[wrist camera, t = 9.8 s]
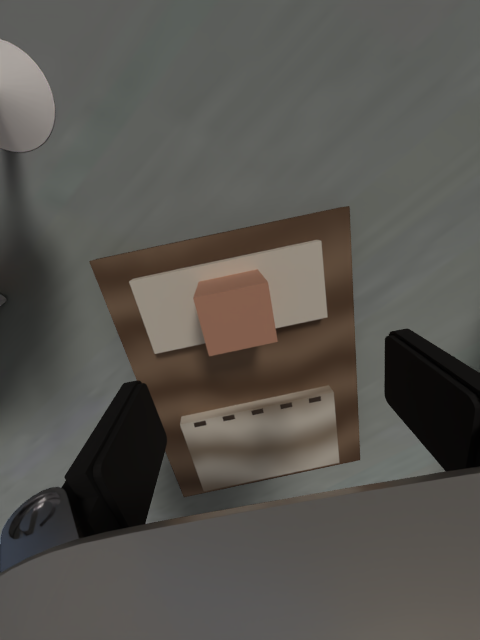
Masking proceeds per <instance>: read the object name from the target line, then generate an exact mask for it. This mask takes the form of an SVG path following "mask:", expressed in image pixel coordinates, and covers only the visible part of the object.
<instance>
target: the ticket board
mask: <svg viewBox="0 0 480 640" xmlns="http://www.w3.org/2000/svg"><path fill="white" fill-rule="evenodd" d="M313 240H320V241H321V243H322V255H323V268H324V280H325V292H326V304H327V318H322V319H318V320H313V321H308V322H303V323H299V324H294V325H289V326H285V327H280V328H276V334H277V340H278V342H275V343H270V344H265V345H260V346H256V347H251V348H246V349H242V350H237V351H232V352H227V353H223V354H218V355H213V356H209V354H208V351H207V347H206V343H204V344H200V345H195V346H190V347H185V348H181V349H176V350H171V351H167V352H162V353H157V354H155V353H154V350H153V348H152V345H151V342H150V339H149V336H148V334H147V331H146V328H145V325H144V322H143V320H142V317H141V314H140V311H139V308H138V306H137V303H136V300H135V297H134V294H133V292H132V289H131V286H130V283H129V281H130V280H132V279H134V278H139V277H144V276H148V275H153V274H158V273H163V272H167V271H172V270H177V269H181V268H186V267H191V266H196V265H200V264H205V263H210V262H214V261H219V260H224V259H229V258H233V257H238V256H243V255H247V254H252V253H257V252H262V251H266V250H271V249H276V248H280V247H285V246H290V245H295V244H299V243H304V242H309V241H313ZM89 262H90V264H91V267H92V269H93V272H94V274H95V277H96V279H97V282H98V284H99V287H100V289H101V292H102V294H103V297H104V299H105V302H106V304H107V307H108V309H109V312H110V314H111V317H112V319H113V322H114V324H115V327H116V329H117V332H118V334H119V337H120V339H121V342H122V344H123V347H124V349H125V352H126V354H127V357H128V359H129V362H130V364H131V367H132V369H133V372H134V374H135V376H136V379H137V381H138V380H139V381H141V382H142V383H145V384H146V385H147V387H148V389H149V392H150V394H151V397H152V399H153V402H154V404H155V407H156V410H157V412H158V415H159V417H160V420H161V422H162V425H163V427H164V430H165V432H166V435H167V445H166V449H165V451H166V454H167V456H168V459H169V461H170V464H171V466H172V469H173V471H174V474H175V476H176V479H177V481H178V484H179V486H180V489H181V491H182V494H183V496H184V497H187V496H192V495H197V494H202V493H206V492H211V491H216V490H220V489H225V488H230V487H235V486H239V485H244V484H249V483H254V482H258V481H263V480H268V479H272V478H277V477H282V476H287V475H291V474H296V473H301V472H305V471H310V470H315V469H320V468H324V467H329V466H334V465H339V464H343V463H348V462H353V461H357V460H360V444H359V420H358V397H357V373H356V350H355V326H354V303H353V279H352V255H351V232H350V208H349V206H347V207H340V208H335V209H331V210H326V211H321V212H316V213H312V214H307V215H302V216H298V217H293V218H288V219H283V220H279V221H274V222H269V223H265V224H260V225H255V226H250V227H246V228H241V229H236V230H232V231H227V232H222V233H217V234H213V235H208V236H203V237H199V238H194V239H189V240H184V241H180V242H175V243H170V244H166V245H161V246H156V247H151V248H147V249H142V250H137V251H133V252H128V253H123V254H118V255H114V256H109V257H104V258H100V259H96V260H92V261H89Z"/></svg>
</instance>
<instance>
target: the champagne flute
mask: <svg viewBox="0 0 480 640" xmlns="http://www.w3.org/2000/svg"><path fill="white" fill-rule="evenodd" d="M54 120H55V105H54V99H53V95H52V92H51V89H50V86H49V84H48V82H47V80H46V78H45V76H44V74H43V73H42V71H41V70H40V68H39V67H38V65H37V64H36V63H35V62H34V61H33V60H32V59H31V58H30V57H29V56H28V55H27V54H26V53H25V52H23V51H22V50H21V49H20V48H18V47H17V46H15V45H13V44H11V43H9V42H7V41H4V40H1V39H0V148H2V149H4V150H8V151H12V152H25V151H31V150H33V149H35V148H38V147H39V146H40V145H42V144H43V143H44V142H45V141H46V139H47V138H48V137H49V135H50V133H51V131H52V128H53V125H54Z"/></svg>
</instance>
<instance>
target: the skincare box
mask: <svg viewBox="0 0 480 640" xmlns="http://www.w3.org/2000/svg"><path fill="white" fill-rule="evenodd" d="M6 301H7V299H6V298H5V297H4V296H2V295H1V294H0V306H1V305H2V304H3V303H4V302H6Z"/></svg>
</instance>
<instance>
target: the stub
mask: <svg viewBox="0 0 480 640" xmlns="http://www.w3.org/2000/svg"><path fill="white" fill-rule="evenodd" d="M129 283H130V286H131V289H132V292H133V294H134V297H135V300H136V303H137V306H138V308H139V311H140V314H141V317H142V320H143V322H144V325H145V328H146V331H147V334H148V336H149V339H150V342H151V345H152V348H153V350H154V353H155V354H157V353H162V352H167V351H171V350H176V349H181V348H185V347H190V346H195V345H200V344H204V343H206V347H207V351H208V354H209V356H213V355H218V354H223V353H227V352H232V351H237V350H242V349H246V348H251V347H256V346H260V345H265V344H270V343H275V342H278V340H277V334H276V328H280V327H285V326H289V325H294V324H299V323H303V322H308V321H313V320H318V319H322V318H327V304H326V292H325V280H324V268H323V255H322V243H321V241H320V240H313V241H309V242H304V243H299V244H295V245H290V246H285V247H280V248H276V249H271V250H266V251H262V252H257V253H252V254H247V255H243V256H238V257H233V258H229V259H224V260H219V261H214V262H210V263H205V264H200V265H196V266H191V267H186V268H181V269H177V270H172V271H167V272H163V273H158V274H153V275H148V276H144V277H139V278H134V279H132V280H130V281H129Z"/></svg>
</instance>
